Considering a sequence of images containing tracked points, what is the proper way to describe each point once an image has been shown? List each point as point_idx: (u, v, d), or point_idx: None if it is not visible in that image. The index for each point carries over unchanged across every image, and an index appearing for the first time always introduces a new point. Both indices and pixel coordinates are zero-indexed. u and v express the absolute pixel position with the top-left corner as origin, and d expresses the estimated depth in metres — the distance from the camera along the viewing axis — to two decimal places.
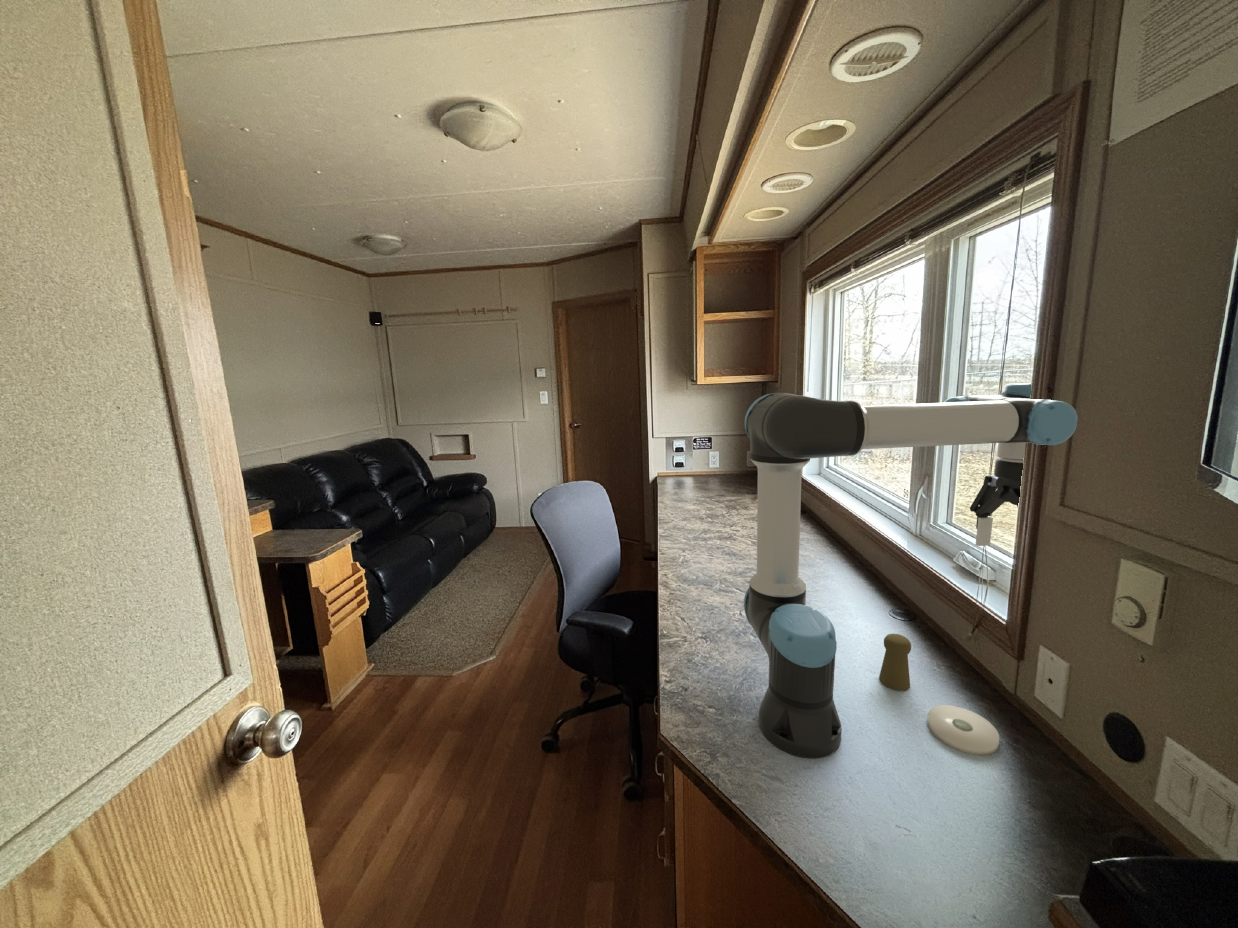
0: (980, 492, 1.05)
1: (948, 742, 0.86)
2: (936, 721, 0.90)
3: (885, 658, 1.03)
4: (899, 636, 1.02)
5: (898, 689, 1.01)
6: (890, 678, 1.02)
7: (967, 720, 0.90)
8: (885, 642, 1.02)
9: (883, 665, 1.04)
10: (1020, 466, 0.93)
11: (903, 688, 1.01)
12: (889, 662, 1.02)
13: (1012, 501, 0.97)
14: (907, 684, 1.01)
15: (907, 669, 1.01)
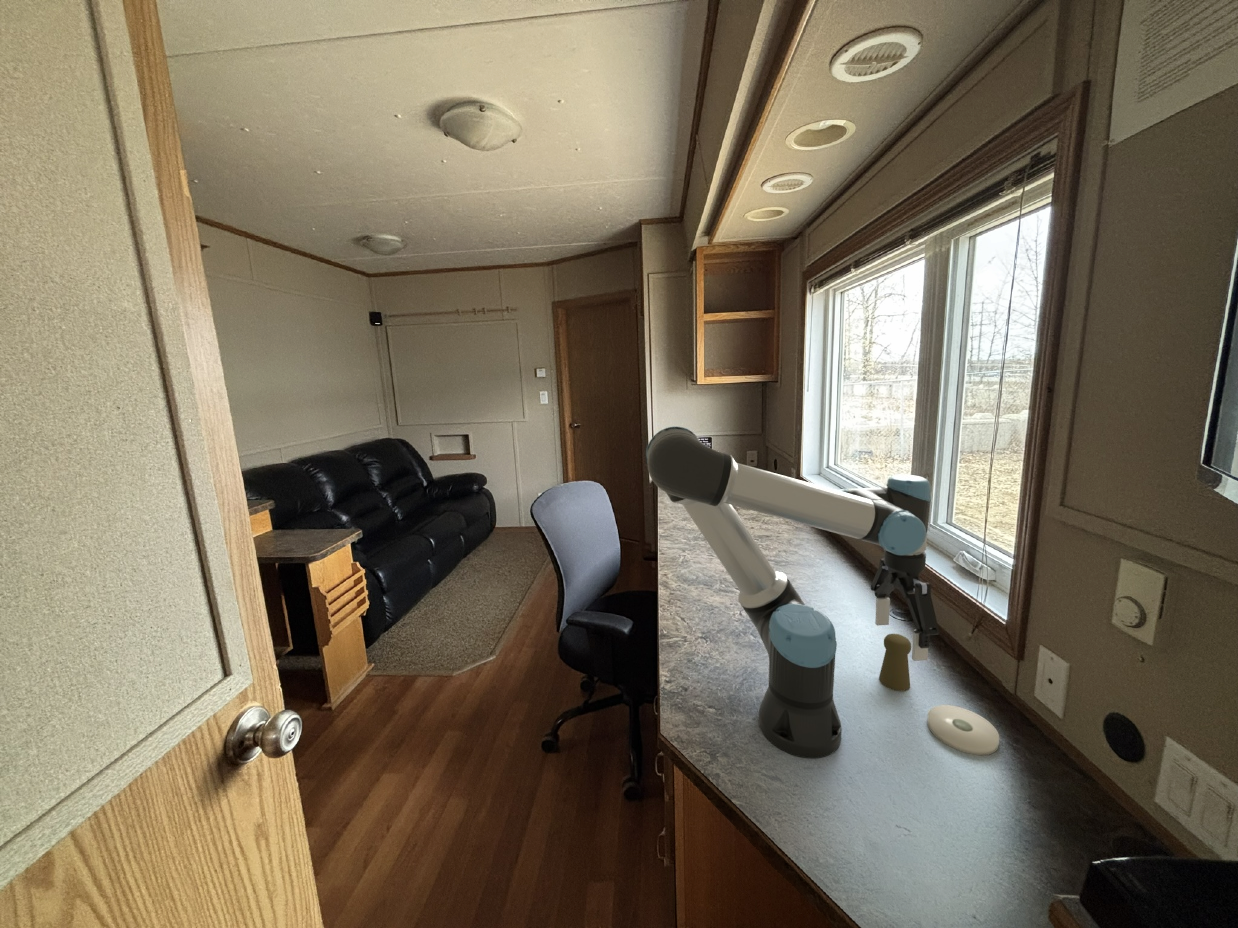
0: (877, 573, 1.07)
1: (948, 742, 0.86)
2: (936, 721, 0.90)
3: (885, 658, 1.03)
4: (899, 636, 1.02)
5: (898, 689, 1.01)
6: (890, 678, 1.02)
7: (967, 720, 0.90)
8: (885, 642, 1.02)
9: (883, 665, 1.04)
10: (902, 558, 0.95)
11: (903, 688, 1.01)
12: (889, 662, 1.02)
13: (900, 589, 0.99)
14: (907, 684, 1.01)
15: (907, 669, 1.01)
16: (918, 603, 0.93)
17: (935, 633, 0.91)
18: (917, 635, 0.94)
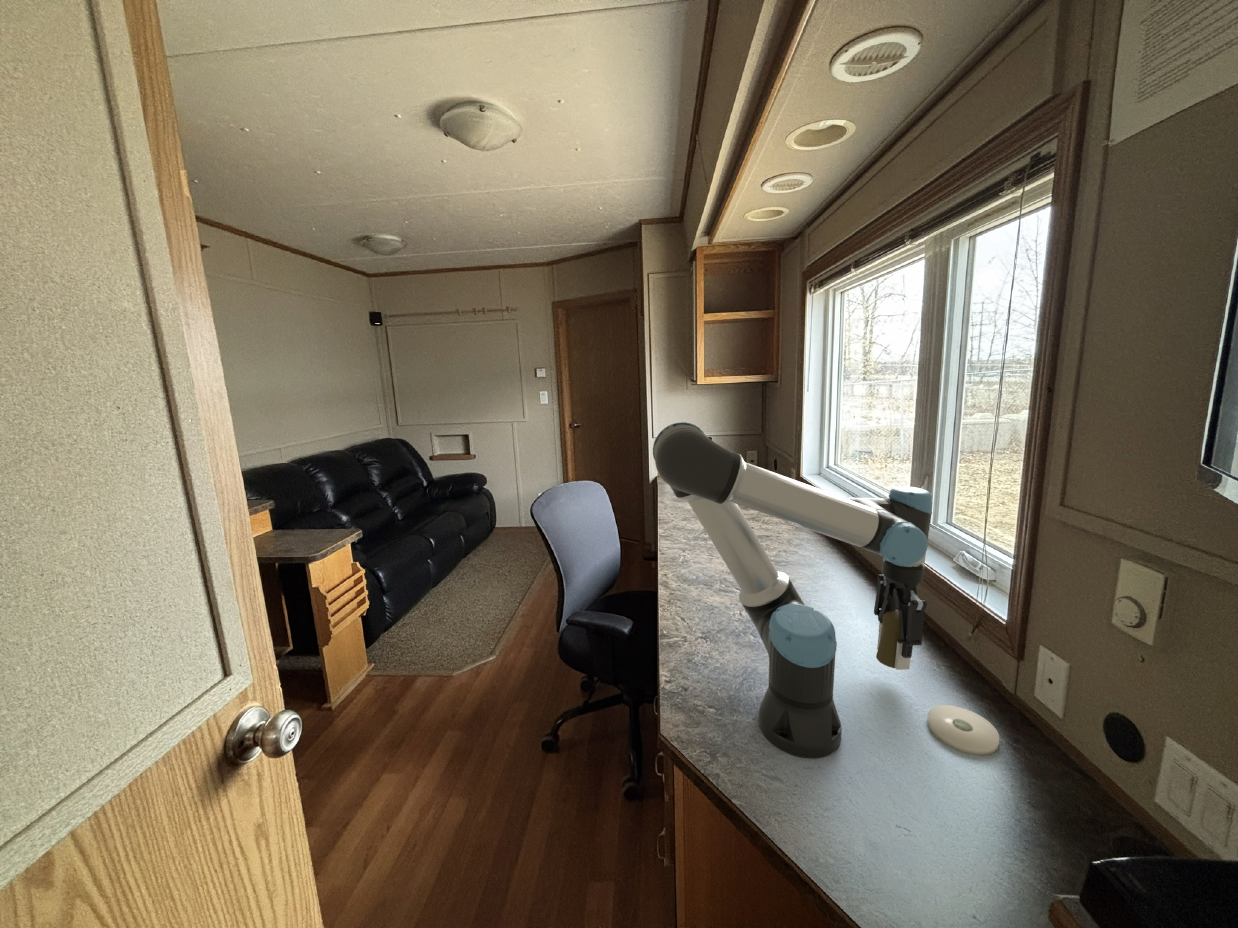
0: (877, 592, 1.06)
1: (948, 742, 0.86)
2: (936, 721, 0.90)
3: (883, 635, 1.02)
4: (898, 613, 1.01)
5: None
6: (887, 655, 1.01)
7: (967, 720, 0.90)
8: (884, 619, 1.01)
9: (881, 642, 1.03)
10: (901, 569, 0.96)
11: None
12: (887, 639, 1.01)
13: None
14: None
15: None
16: (909, 617, 0.95)
17: (918, 644, 0.95)
18: (900, 645, 0.98)
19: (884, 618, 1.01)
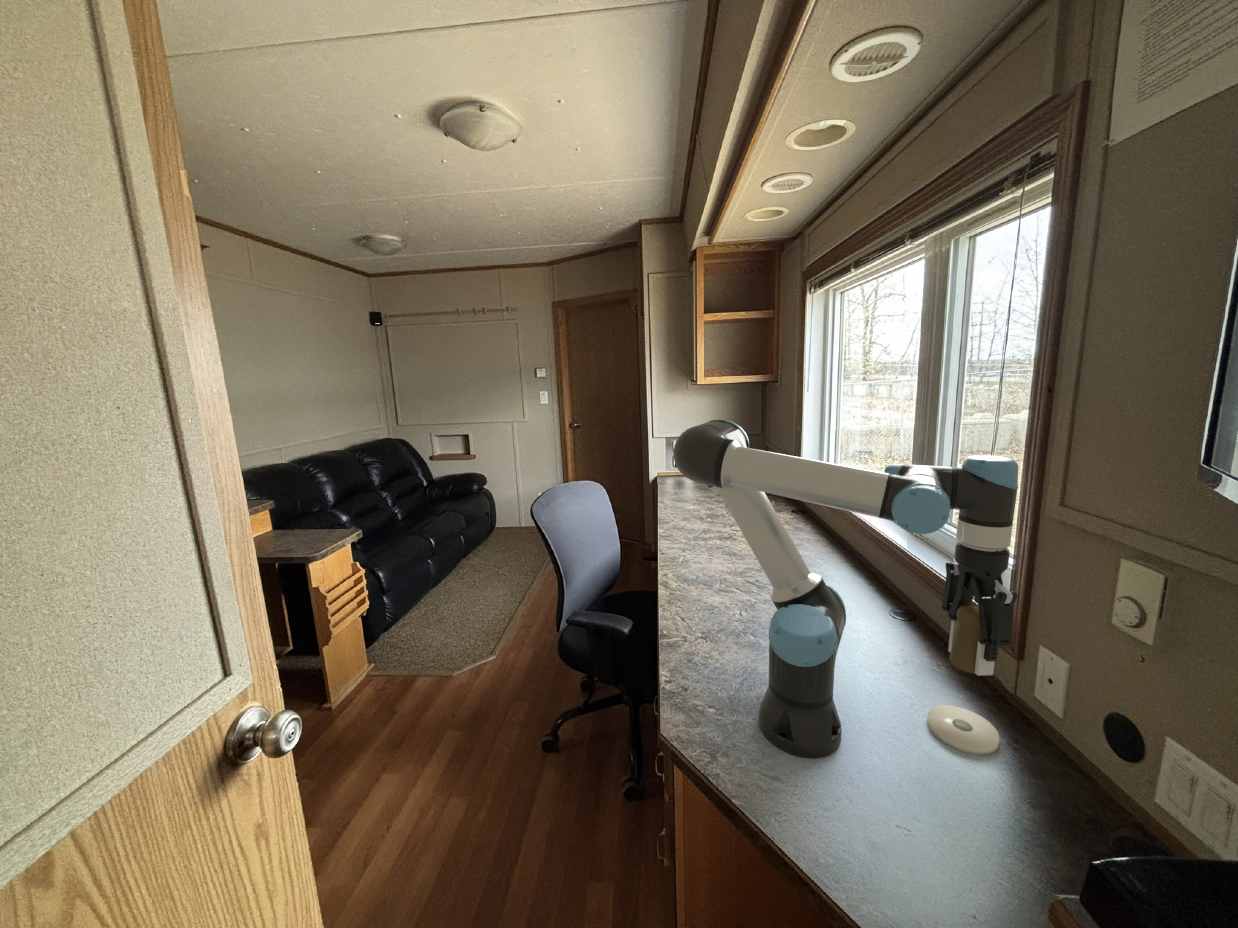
0: (946, 584, 0.90)
1: (948, 742, 0.86)
2: (936, 721, 0.90)
3: (959, 635, 0.86)
4: (976, 608, 0.85)
5: None
6: (965, 658, 0.84)
7: (967, 720, 0.90)
8: (959, 615, 0.85)
9: (956, 643, 0.86)
10: (982, 555, 0.79)
11: None
12: (965, 639, 0.84)
13: None
14: None
15: None
16: (995, 612, 0.78)
17: (1006, 644, 0.79)
18: (982, 646, 0.82)
19: (959, 614, 0.85)
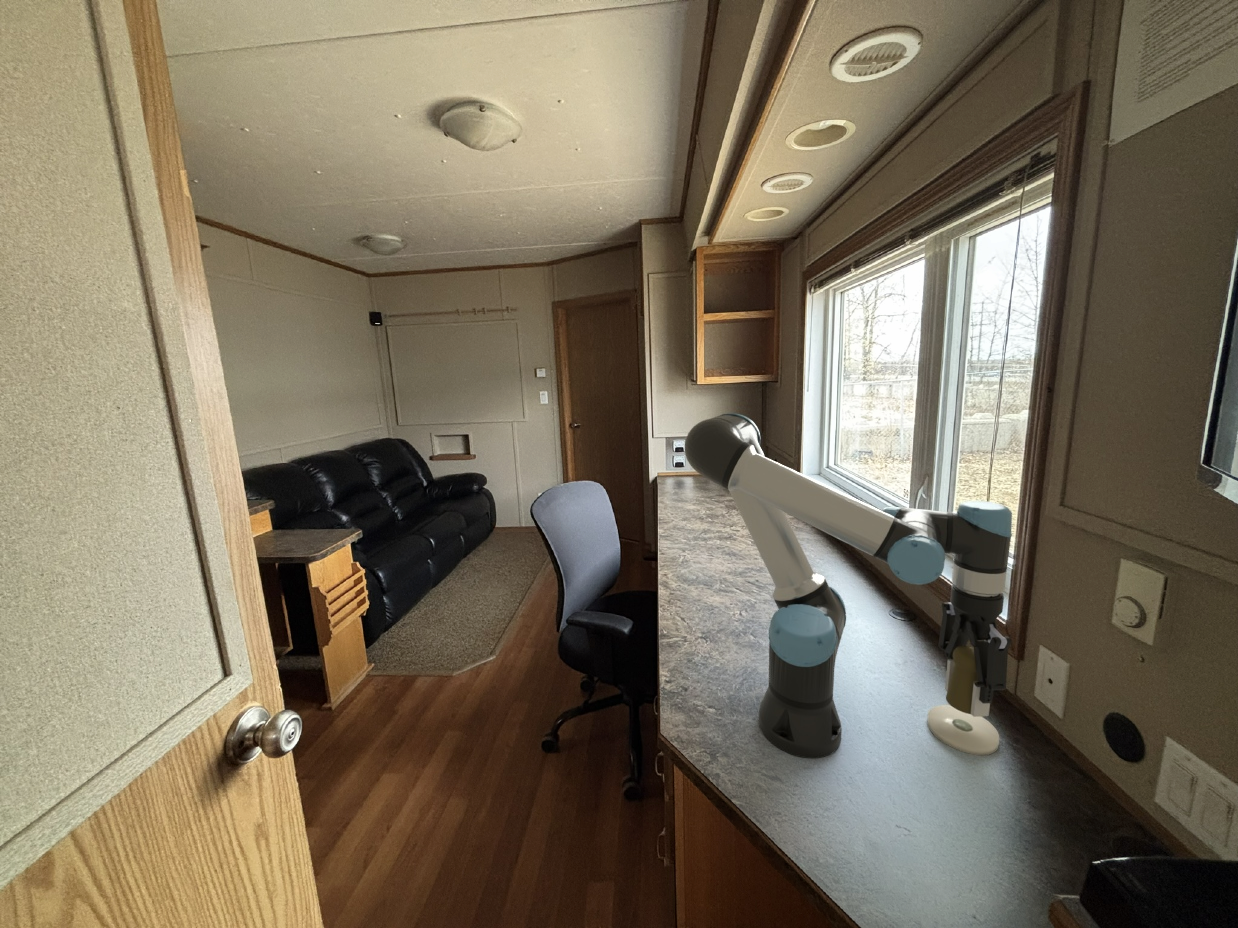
0: (942, 623, 0.92)
1: (948, 742, 0.86)
2: (936, 721, 0.90)
3: (955, 675, 0.87)
4: (972, 649, 0.86)
5: None
6: (962, 699, 0.86)
7: (967, 720, 0.90)
8: (955, 656, 0.86)
9: (952, 683, 0.88)
10: (977, 600, 0.81)
11: None
12: (961, 680, 0.86)
13: None
14: None
15: None
16: (990, 657, 0.80)
17: (1001, 688, 0.80)
18: (978, 688, 0.83)
19: (956, 655, 0.87)
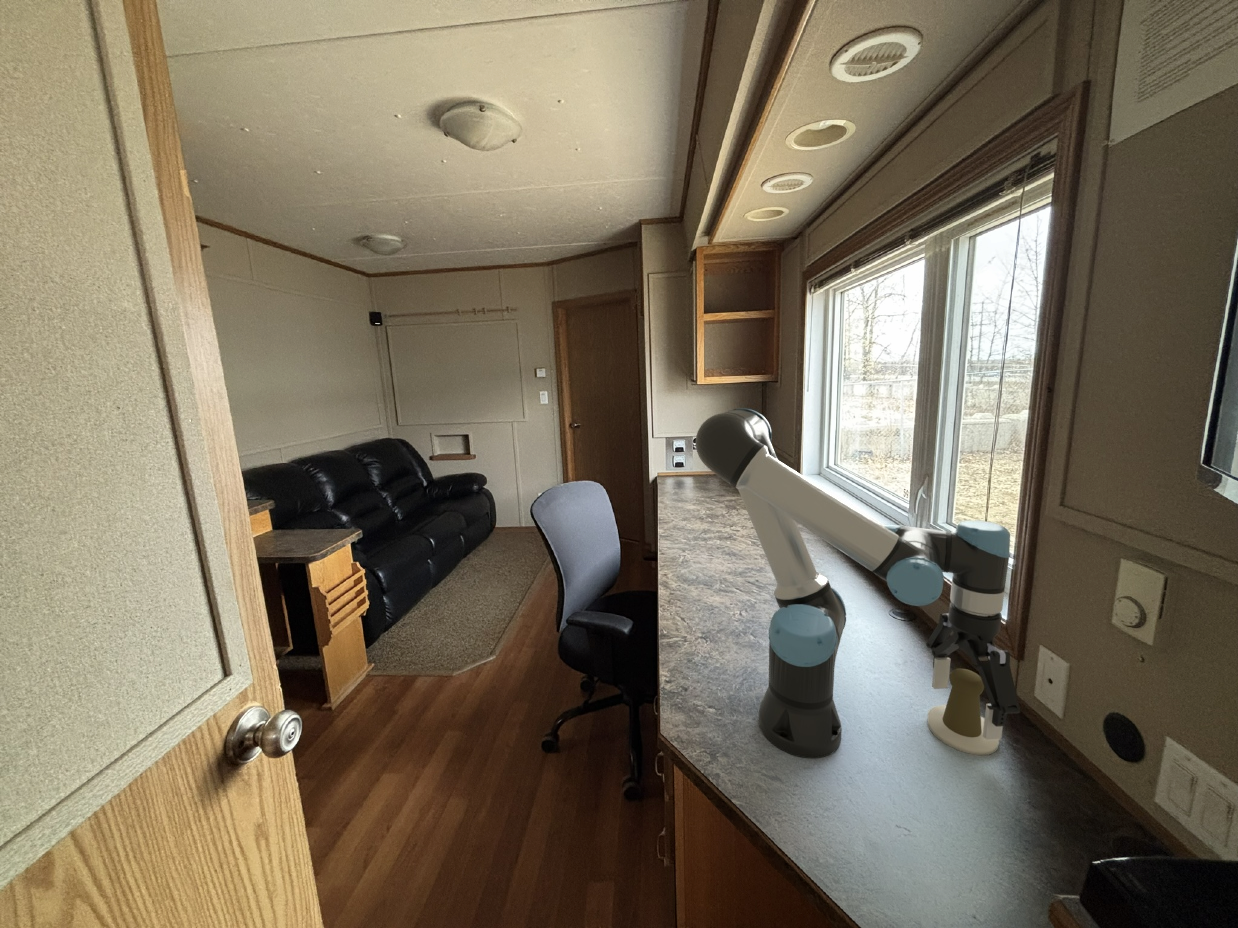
0: (936, 630, 0.93)
1: (948, 742, 0.86)
2: (936, 721, 0.90)
3: (951, 697, 0.88)
4: (969, 672, 0.87)
5: (968, 735, 0.86)
6: (958, 721, 0.87)
7: None
8: (952, 679, 0.87)
9: (949, 705, 0.89)
10: (975, 619, 0.82)
11: (974, 734, 0.86)
12: (957, 703, 0.87)
13: (968, 653, 0.85)
14: (979, 729, 0.86)
15: (979, 711, 0.86)
16: (994, 674, 0.79)
17: (1015, 711, 0.77)
18: (991, 711, 0.81)
19: (952, 678, 0.87)
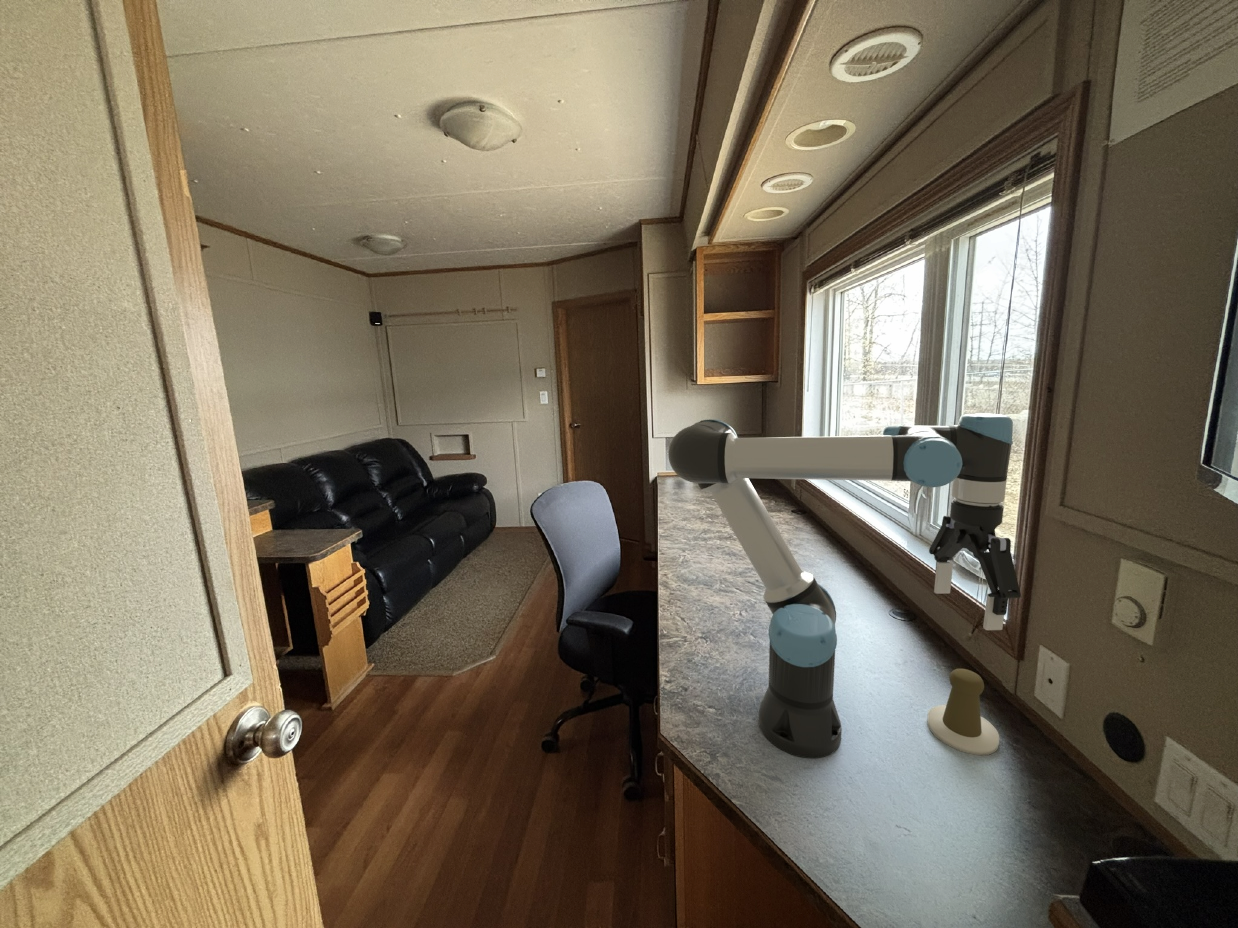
0: (939, 533, 0.93)
1: (948, 742, 0.86)
2: (936, 721, 0.90)
3: (951, 698, 0.88)
4: (969, 672, 0.87)
5: (968, 735, 0.86)
6: (958, 721, 0.87)
7: None
8: (952, 679, 0.87)
9: (949, 705, 0.89)
10: (975, 510, 0.81)
11: (974, 734, 0.86)
12: (957, 703, 0.87)
13: (969, 548, 0.85)
14: (979, 729, 0.86)
15: (979, 711, 0.86)
16: (995, 561, 0.79)
17: (1016, 596, 0.77)
18: (991, 600, 0.80)
19: (952, 678, 0.87)
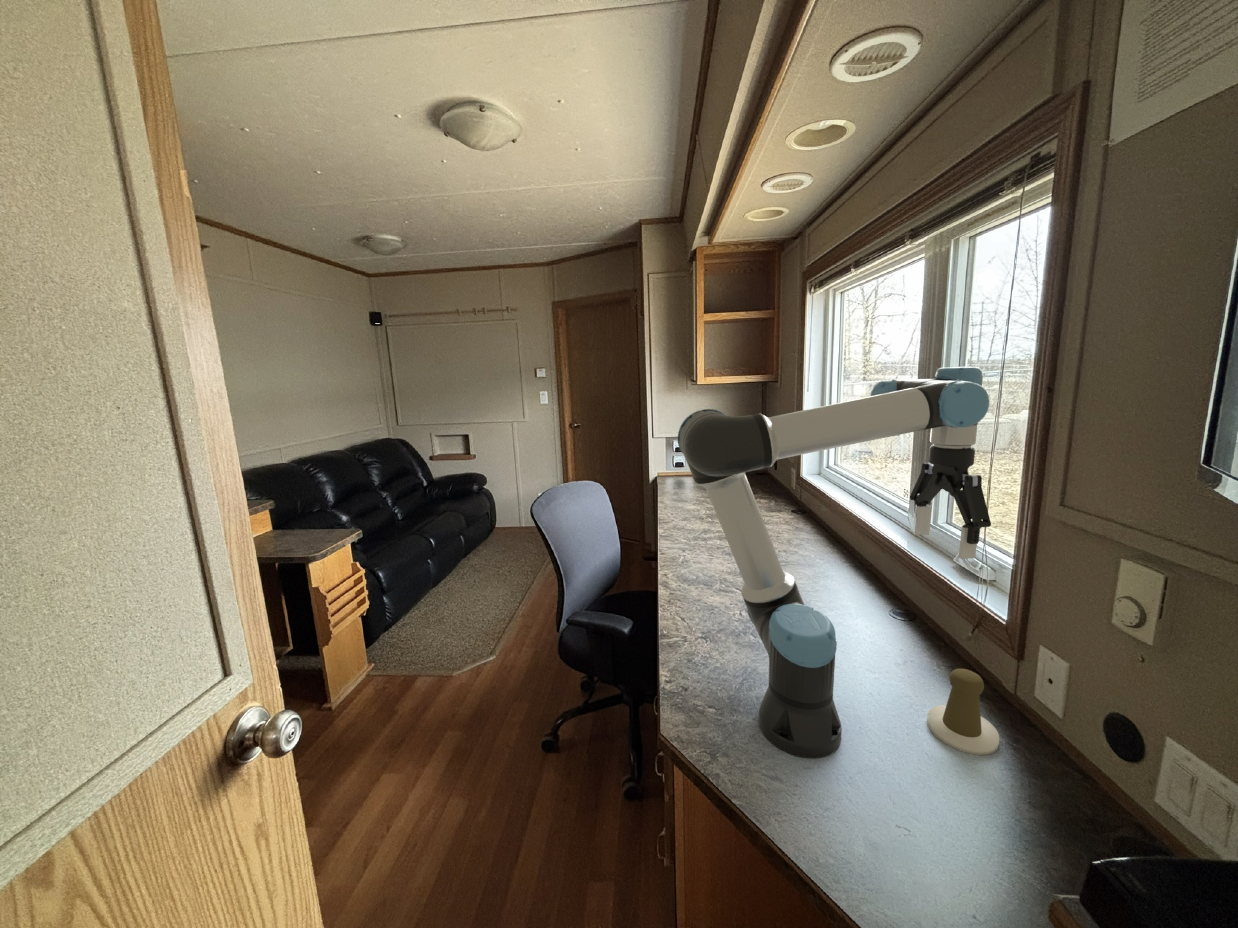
0: (918, 480, 1.03)
1: (948, 742, 0.86)
2: (936, 721, 0.90)
3: (951, 698, 0.88)
4: (969, 672, 0.87)
5: (968, 735, 0.86)
6: (958, 721, 0.87)
7: None
8: (952, 679, 0.87)
9: (949, 705, 0.89)
10: (951, 452, 0.91)
11: (974, 734, 0.86)
12: (957, 703, 0.87)
13: (946, 488, 0.95)
14: (979, 729, 0.86)
15: (979, 711, 0.86)
16: (968, 496, 0.89)
17: (986, 525, 0.87)
18: (965, 531, 0.90)
19: (952, 678, 0.87)
